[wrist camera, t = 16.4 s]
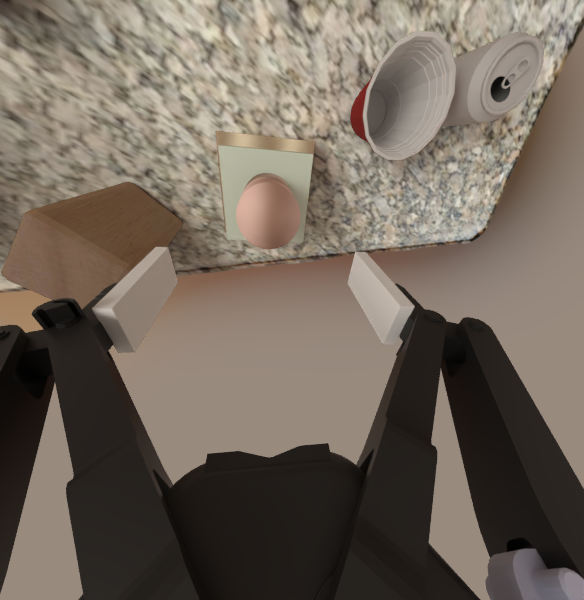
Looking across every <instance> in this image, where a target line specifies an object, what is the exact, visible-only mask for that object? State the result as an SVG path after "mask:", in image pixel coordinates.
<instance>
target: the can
mask: <svg viewBox="0 0 584 600" xmlns="http://www.w3.org/2000/svg"><path fill="white" fill-rule="evenodd" d="M543 55H544V50H543V46H542V43H541V41H540V40H539V39H538V38H537V37H536V36H530V35H529V34H528V33H523V32H515V33H512V34H509V35H506V36H504V37H502V38H500V39H497V40H495V41H493V42H491V43H488V44H486V45H484V46H481V47H479V48H477V49H475V50H472V51H470V52H468V53H466V54H463V55H461V56H459V57H457V58H454V62H455V65H456V77H455V92H454V96H453V99H452V102H451V105H450V108H449V111H448V114H447V117H446V119H445V120H444V122H443V123H442V125H441V127H443V126H454V125H466V124H477V123H487V122H490V121H494V120H496V119H498V118H499V117H501V116H503V115H504V114H506V113H507V112H509V111H510V110H512V109H513V108H515V107H516V106H517V105H518V104H519V103H520V102H521V101H522V100H523V99H524V98H525V97H526V96H527V95H528V93H529V92H530V90H531V89H532V88H533V86H534V84H535V82H536V80H537V78H538V76H539V74H540V71H541V67H542V64H543Z"/></svg>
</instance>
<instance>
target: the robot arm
mask: <svg viewBox="0 0 584 600" xmlns="http://www.w3.org/2000/svg"><path fill="white" fill-rule="evenodd" d="M177 283H178V280H177V277H176V273H175V270H174V266H173V263H172V259H171V255H170V252H169V248H168V247H155V248H154V249H153V250H152V251H151V252H150V253H149V254H148V255H147V256H146V257H145V258H144V259H143V260H142V261H141V262H140V263H139V264H138V265H137V266H136V267H134V268H133V269H132V270H131V271H130V272H129V273H128V274H127V275H126V276H125V277H124V278H123V279H122V280H121V281H120V282H119V283H114V284H112V285H110V286H108V287H106V288H105V289H104V290H103V291H102V292H100V293H99V295H97V296H96V297H95V298H94V299H93V300H92V301H91V302H90V303H88V304H87V305H86V306H85V307H84V308H83V309H81V307H80V306H79V304H78V303H77V301H76V300H75V299H71V298H61V299H56V300H52V301H49V302H47V303H44V304H42V305H40V306H38V307H37V308H36V309H35V310H33V312H32V315H33V317H34V318H35V319H36V320H37V322H39V324H40V325H41V326H42V327H43V329H44V330H39V331H33V332H28V333H25V332H24V331H23V330H22V329H21V328H20V327H19V326H17V325H7V326H1V327H0V592H1V589H2V586H3V583H4V579H5V576H6V573H7V569H8V565H9V561H10V557H11V553H12V549H13V545H14V541H15V537H16V533H17V529H18V525H19V522H20V518H21V514H22V509H23V505H24V502H25V498H26V494H27V490H28V486H29V482H30V478H31V474H32V470H33V466H34V462H35V458H36V454H37V450H38V446H39V442H40V439H41V435H42V430H43V427H44V422H45V419H46V415H47V411H48V407H49V403H50V399H51V395H52V391H53V387H54V383H55V384H56V388H57V393H58V398H59V403H60V408H61V413H62V418H63V423H64V428H65V432H66V437H67V442H68V447H69V452H70V457H71V462H72V467H73V472H74V477H73V479H72V480H71V481H69V482H68V484H67V487H66V494H67V502H68V508H69V514H70V520H71V525H72V531H73V537H74V543H75V548H76V554H77V560H78V566H79V572H80V578H81V583H82V589H83V595H82V596H81V597H80V599H79V600H480V599H479V598H478V597H477V596H476V595H475V594H474V592H473V591H472V590H471V589H470V588H469V587H468V586H467V585H466V584H465V582H464V581H463V580H462V579H461V578H460V577H459V576H458V575H457V574H456V573H455V572H454V570H453V569H452V568H451V567H450V566H449V565H448V564H447V563H446V562H445V561H444V559H443V558H442V557H441V556H440V555H439V554H438V553H437V552H436V551H435V550H434V548H432V546H431V545H430V544H429V543H428V541H429V532H430V522H431V513H432V503H433V493H434V483H435V474H436V464H437V450H436V447H435V446H433V445H432V444H431V437H432V430H433V422H434V415H435V407H436V399H437V392H438V384H439V377H440V369H441V370H442V374H443V378H444V383H445V387H446V391H447V396H448V400H449V404H450V409H451V413H452V417H453V421H454V426H455V430H456V434H457V438H458V442H459V447H460V451H461V455H462V460H463V464H464V468H465V472H466V477H467V481H468V485H469V490H470V494H471V498H472V502H473V507H474V511H475V514H476V517H477V521H478V525H479V528H480V532H481V534H482V537H483V540H484V542H485V545H486V548H487V551H488V553H489V556H490V560H489V563H488V577H487V579H486V589H487V592H488V594H489V597H490V599H491V600H584V489H583V487H582V486H581V484H580V482H579V480H578V478H577V477H576V475H575V473H574V472H573V470H572V468H571V466H570V465H569V463H568V461H567V459H566V457H565V456H564V454H563V452H562V450H561V449H560V447H559V445H558V443H557V442H556V440H555V438H554V437H553V435H552V434H551V431H550V430H549V428H548V426H547V424H546V423H545V421H544V419H543V417H542V416H541V414H540V412H539V410H538V409H537V407H536V405H535V403H534V402H533V400H532V398H531V396H530V395H529V393H528V391H527V390H526V388H525V386H524V384H523V383H522V381H521V379H520V378H519V376H518V374H517V372H516V370H515V369H514V367H513V365H512V363H511V362H510V360H509V358H508V356H507V355H506V353H505V351H504V350H503V348H502V346H501V344H500V342H499V341H498V339H497V337H496V336H495V334H494V332H493V330H492V329H491V328H490V327H489V326H488V325H487V324H485V323H484V322H483V321H480V320H478V319H474V318H468V317H466V318H463V319H462V320H461V322H460V323H459V324H456V323H451V322H446V320H445V318H444V317H443V316H442V315H440V314H439V313H437V312H434V311H431V310H425V309H424V308H423V307H422V306H421V305H420V304H419V303H418V302H417V301H416V300H415V299H414V298H412V296H411V295H410V294H409V293H408V292H407V291H406V290H405V288H403V287H401V286H400V285H398V284H394V283H393V282H392V281H391V280H390V279H389V278H388V276H387V275H386V274H385V273H384V272H383V271H382V270H381V269H380V268H379V267H378V265H377V264H376V263H375V262H374V261H373V260H372V259H371V258H370V257H369V256H368V254H367V253H366V252H355V256H354V260H353V264H352V267H351V272H350V275H349V279H348V285H349V287H350V289H351V290H352V292H353V294H354V295H355V297H356V299H357V301H358V302H359V304H360V306H361V308H362V309H363V311H364V313H365V314H366V316H367V318H368V320H369V321H370V323H371V325H372V326H373V328H374V330H375V332H376V333H377V335H378V337H379V338H380V340H381V342H382V344H383V345H384V344H396V342H397V340H398V338H399V336H400V338H401V339H402V341H403V343H402V345H401V347H400V348H399V350H398V352H397V354H396V355H397V358H396V361H395V363H394V367H393V369H392V372H391V374H390V377H389V380H388V383H387V386H386V388H385V391H384V394H383V397H382V399H381V402H380V405H379V408H378V411H377V413H376V416H375V419H374V422H373V425H372V427H371V430H370V433H369V435H368V438H367V441H366V444H365V446H364V449H363V452H362V454H361V456H360V458H359V460H358V462H357V465H355V464H354V463H353V462H351V461H350V460H348V459H346V458H345V457H343V456H341V455H338V454H335V453H332V452H330V450H329V445H328V443H327V444H316V445H304V446H299V447H296V448H294V449H291V450H289V451H286V452H284V453H281V454H279V455H276V456H274V457H270V458H268V457H263V456H258V455H254V454H249V453H244V452H240V451H235V452H224V453H212V454H207V459H206V463H205V464H203V465H200V466H199V467H197V468H195V469H193V470H192V471H190V472H189V473H187V474H186V475H184V476H183V477H182V478H181V479H180V480H178V481H177V482H176V483H175V484H174V485H173V484H172V482H171V480H170V478H169V477H168V475H167V474H166V472H165V470H164V468H163V466H162V464H161V462H160V459H159V457H158V456H157V453H156V451H155V449H154V447H153V444H152V442H151V440H150V438H149V436H148V434H147V431H146V429H145V427H144V425H143V423H142V421H141V418H140V416H139V414H138V412H137V410H136V408H135V406H134V403H133V401H132V399H131V397H130V395H129V393H128V391H127V388H126V386H125V384H124V382H123V380H122V378H121V376H120V373H119V371H118V369H117V367H116V365H115V363H114V360H113V358H112V356H111V354H110V353H109V351H108V350H109V349H110V348H111V346H112V345H114V347H115V348H116V350H117V352H118V353H121V352H135V351H136V350H137V348H138V346H139V345H140V343H141V341H142V340H143V338H144V337H145V335H146V333H147V332H148V330H149V328H150V326H151V325H152V324H153V322H154V320H155V319H156V317H157V316H158V314H159V312H160V311H161V309H162V307H163V306H164V304H165V303H166V301H167V299H168V298H169V296H170V294H171V293H172V291H173V290H174V288H175V286H176V285H177Z"/></svg>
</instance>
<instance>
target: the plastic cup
mask: <svg viewBox="0 0 584 600" xmlns="http://www.w3.org/2000/svg"><path fill="white" fill-rule="evenodd" d="M455 77H456V65H455V62H454V58H453V54H452V51H451V47H450V45H449V44H448V43H447V42H446V41H445V40H444V39H443V38H442V37H441V36H440V35H439V34H438V33H437V32H427V31H416V32H414V33H412V34H410V35H408V36H407V37H405V38H403V39H401V40H399V41H397V42H396V43H395V44H394V46H393V47H392V48H391V49H390V50H389V52H388V53H387V54H386V55H385V56H384V58H383V59H382V60H381V61H380V62H379V64H378V65H377V67H376V70H375V72H374V74H373V76H372V77H371V80H370V81H369V82H368V83H367V85H366V86H365V87H364V88H363V89H362V91H361V92H360V93H359V95H358V97H357V98H356V99H355V102H354V104H353V106H352V110H351V118H350V119H351V124H352V128H353V130H354V131H355V133H356V134H357V135H358V136H360V138H362V139H364V140H365V141H367V142H369V144H370V145H371V147H372V149H373V150H374V152H375V153H377V154H379V155H380V156H382V157H384V158H385V159H387V160H403V159H406V158H408V157H410V156H412V155H414V154H416V153H418V152H419V151H420V150H421V149H422V148H424V147H425V146H426V145H427V144H428V143H429V142H430V141H431V140H432V139H433V138H434V136H435V135H436V133H437V132H438V130H439V128H440V127H441V125H442V123H443V122H444V120H445V119H446V117H447V114H448V111H449V108H450V105H451V102H452V99H453V96H454V92H455Z"/></svg>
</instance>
